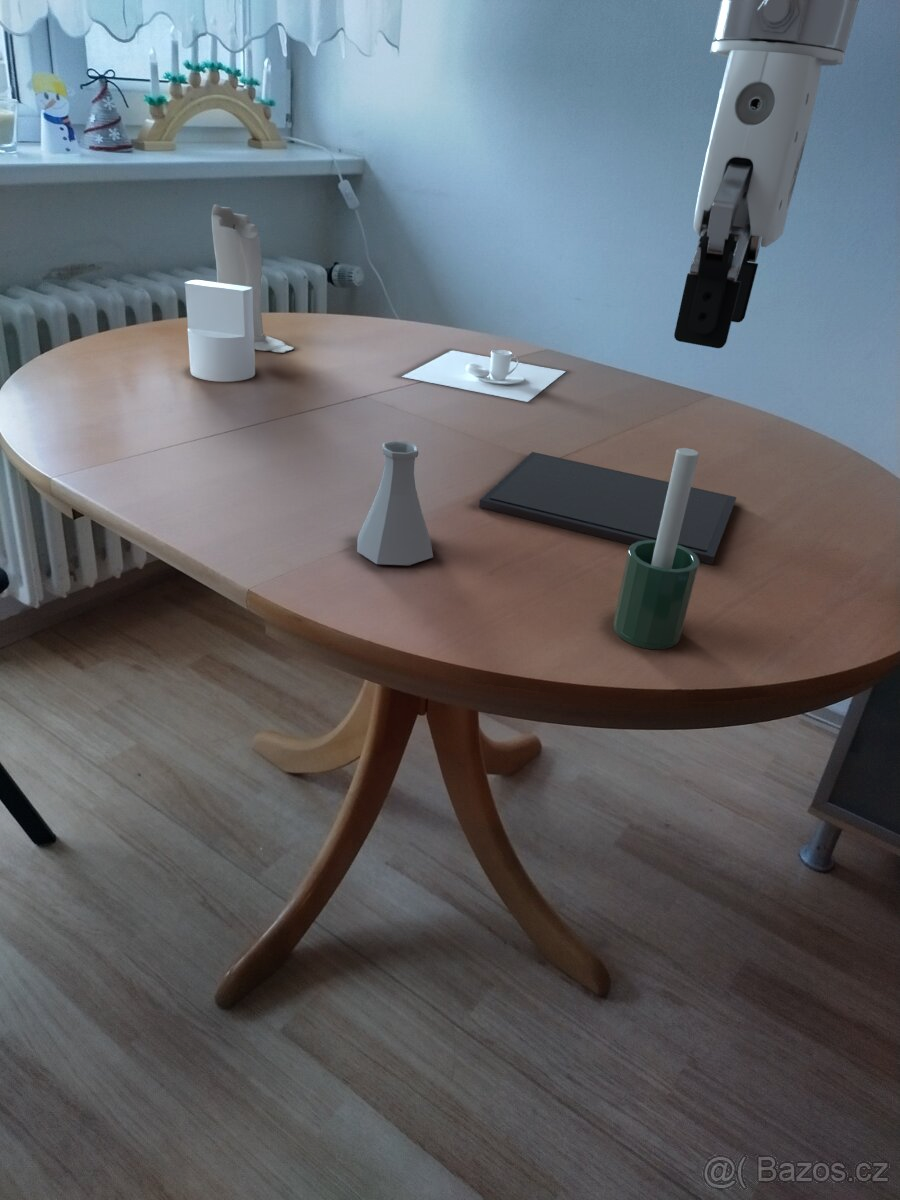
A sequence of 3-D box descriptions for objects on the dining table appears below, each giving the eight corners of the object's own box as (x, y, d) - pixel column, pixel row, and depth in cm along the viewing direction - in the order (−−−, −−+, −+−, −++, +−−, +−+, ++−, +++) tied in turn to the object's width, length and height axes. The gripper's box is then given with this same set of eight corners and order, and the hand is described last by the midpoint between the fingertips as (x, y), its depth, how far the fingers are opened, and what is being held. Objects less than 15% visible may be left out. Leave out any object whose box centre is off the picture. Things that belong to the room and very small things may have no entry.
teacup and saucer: (459, 379, 130) (462, 352, 128) (478, 368, 137) (481, 342, 135) (514, 390, 128) (517, 362, 126) (531, 378, 134) (534, 351, 132)
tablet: (734, 504, 96) (736, 496, 95) (711, 565, 82) (714, 555, 82) (531, 458, 103) (532, 450, 103) (478, 507, 89) (479, 498, 89)
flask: (345, 537, 81) (347, 435, 76) (416, 529, 84) (423, 430, 79) (370, 572, 75) (374, 465, 70) (446, 563, 78) (455, 458, 73)
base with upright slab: (178, 376, 120) (172, 286, 114) (208, 360, 128) (203, 276, 122) (239, 385, 119) (235, 294, 113) (265, 369, 127) (263, 283, 121)
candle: (274, 355, 134) (272, 215, 124) (208, 338, 139) (200, 203, 129) (304, 347, 139) (303, 212, 129) (239, 331, 145) (233, 201, 135)
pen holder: (685, 625, 72) (704, 550, 68) (673, 656, 67) (692, 578, 64) (621, 608, 73) (637, 534, 70) (606, 637, 69) (621, 560, 66)
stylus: (659, 624, 71) (700, 450, 63) (655, 633, 69) (696, 457, 62) (640, 619, 71) (678, 446, 64) (635, 628, 70) (674, 452, 62)
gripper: (846, 15, 42) (752, 367, 50) (852, 48, 56) (778, 319, 64) (692, 6, 44) (627, 344, 53) (734, 40, 58) (678, 302, 67)
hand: (710, 330), depth 58 cm, fingers open, 9 cm apart
